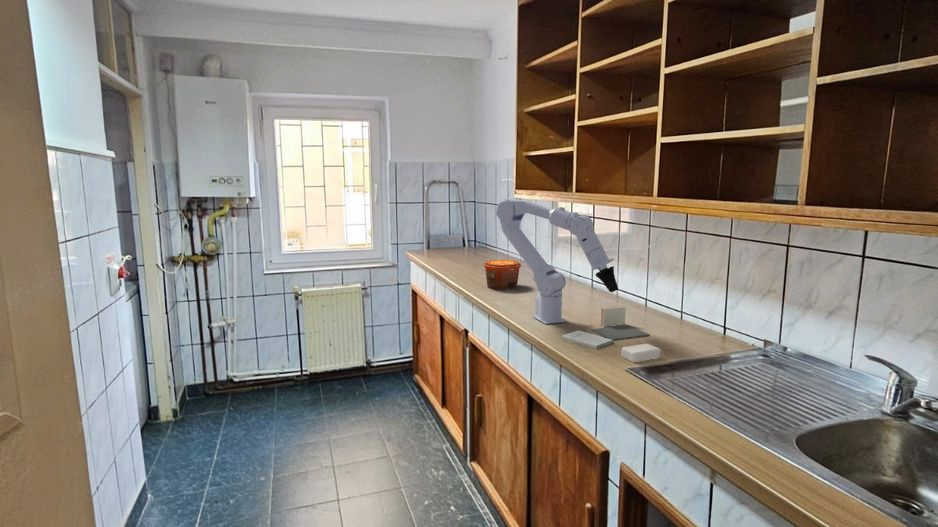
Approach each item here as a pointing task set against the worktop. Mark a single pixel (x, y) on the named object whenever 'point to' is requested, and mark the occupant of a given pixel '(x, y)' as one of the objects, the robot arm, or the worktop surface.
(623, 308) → the tile
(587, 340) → the external hard drive
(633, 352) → the soap
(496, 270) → the food container
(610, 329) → the mat
